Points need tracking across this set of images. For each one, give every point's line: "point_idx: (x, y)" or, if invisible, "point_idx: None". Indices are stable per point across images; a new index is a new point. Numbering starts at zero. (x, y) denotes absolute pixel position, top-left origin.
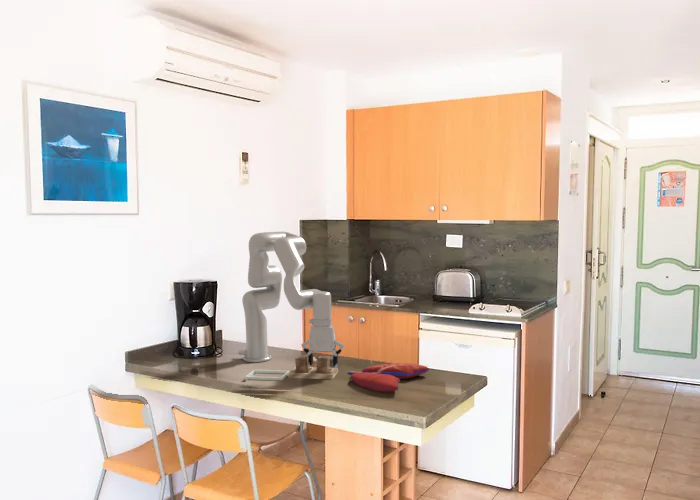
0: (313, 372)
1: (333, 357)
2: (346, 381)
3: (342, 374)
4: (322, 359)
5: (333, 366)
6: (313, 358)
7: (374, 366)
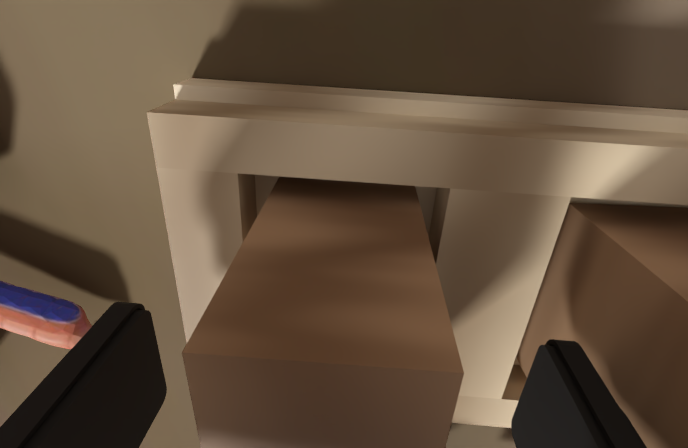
0: (476, 229)
1: (17, 443)
2: (37, 119)
3: None
4: (296, 369)
5: None
6: None
7: None
